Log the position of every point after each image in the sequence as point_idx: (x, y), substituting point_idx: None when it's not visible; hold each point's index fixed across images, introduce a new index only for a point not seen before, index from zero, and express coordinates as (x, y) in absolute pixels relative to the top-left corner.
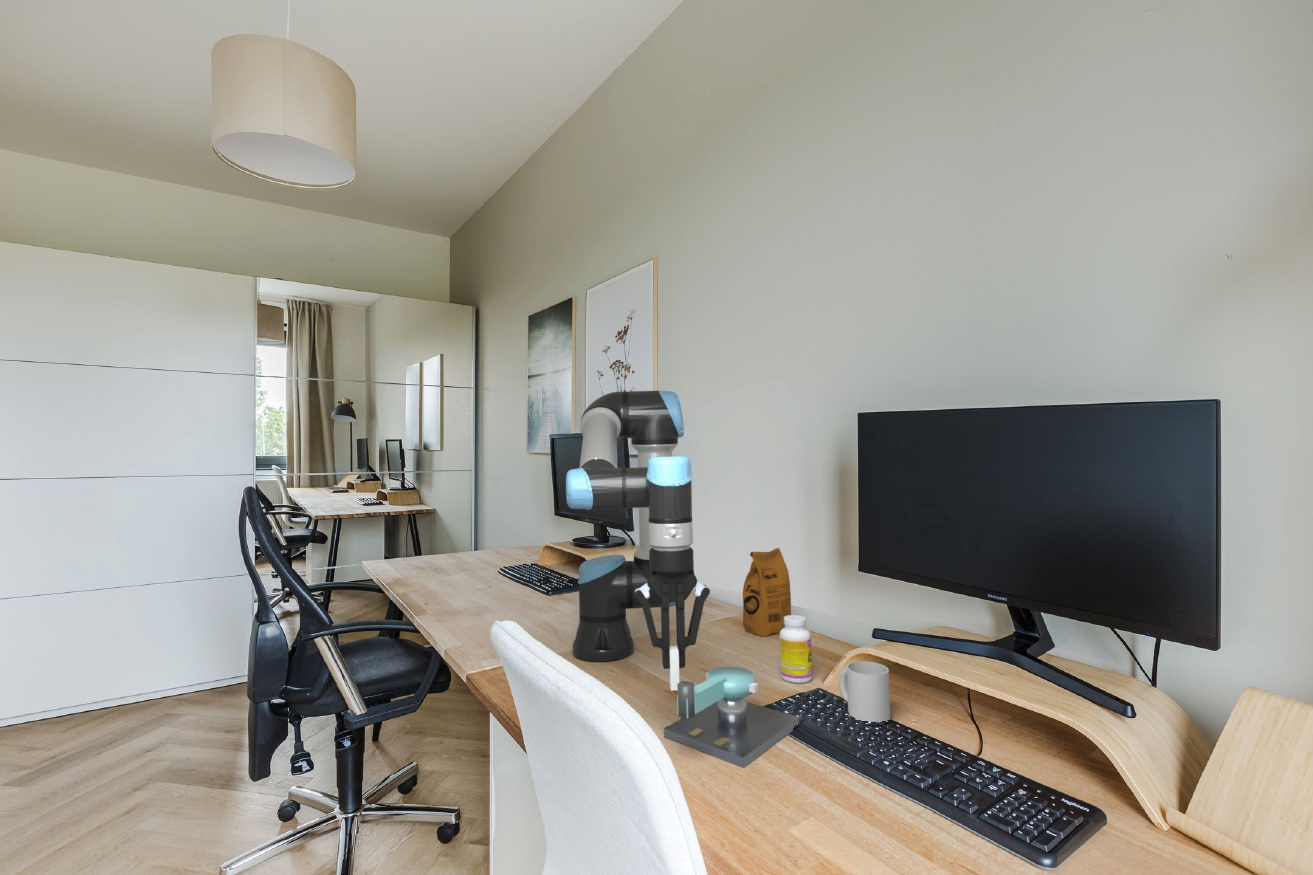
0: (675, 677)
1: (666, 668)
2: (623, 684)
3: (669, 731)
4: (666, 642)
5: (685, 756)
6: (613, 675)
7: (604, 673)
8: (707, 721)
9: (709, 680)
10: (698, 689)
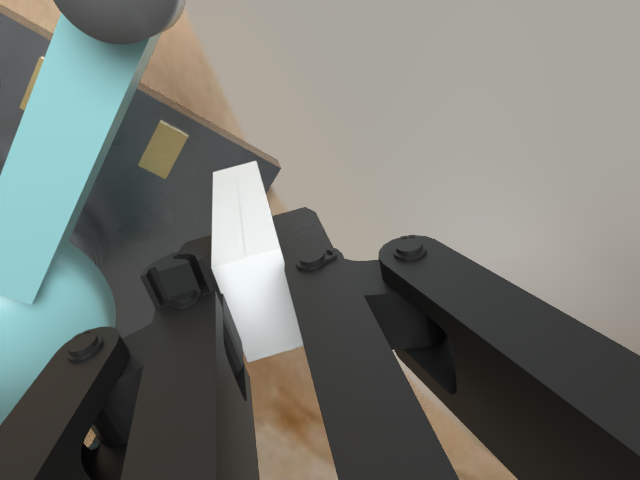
0: (233, 188)
1: (292, 212)
2: (430, 423)
3: (259, 155)
4: (318, 280)
5: (181, 37)
6: (458, 457)
7: (480, 460)
8: (143, 238)
9: (47, 230)
10: (71, 91)
